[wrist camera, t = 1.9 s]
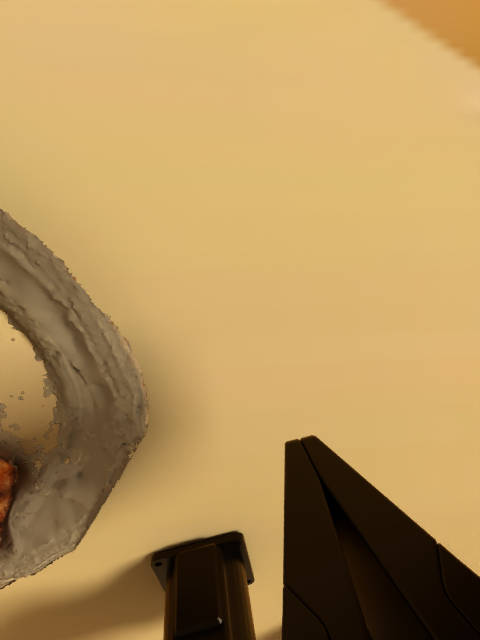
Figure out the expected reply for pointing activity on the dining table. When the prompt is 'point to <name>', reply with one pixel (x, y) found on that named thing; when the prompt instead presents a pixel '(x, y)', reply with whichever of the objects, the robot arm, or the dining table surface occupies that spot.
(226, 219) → the dining table surface
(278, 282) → the dining table surface
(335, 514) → the robot arm
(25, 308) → the food plate
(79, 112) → the dining table surface
